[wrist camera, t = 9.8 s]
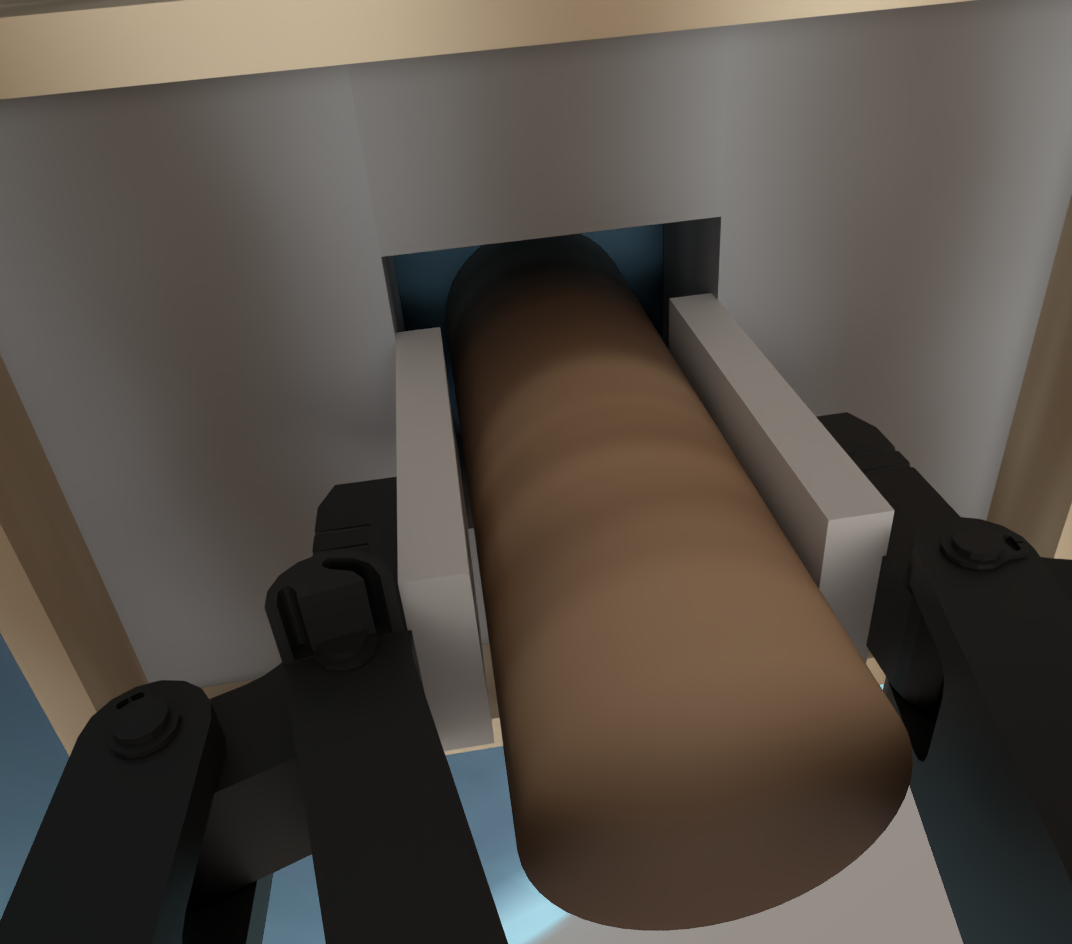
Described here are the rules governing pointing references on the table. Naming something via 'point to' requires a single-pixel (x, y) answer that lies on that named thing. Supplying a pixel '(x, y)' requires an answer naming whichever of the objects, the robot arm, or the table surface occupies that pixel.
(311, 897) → the table surface
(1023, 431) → the box with hole
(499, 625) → the peg
